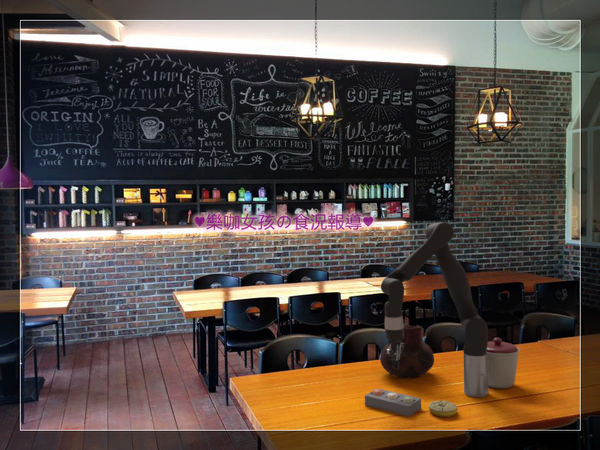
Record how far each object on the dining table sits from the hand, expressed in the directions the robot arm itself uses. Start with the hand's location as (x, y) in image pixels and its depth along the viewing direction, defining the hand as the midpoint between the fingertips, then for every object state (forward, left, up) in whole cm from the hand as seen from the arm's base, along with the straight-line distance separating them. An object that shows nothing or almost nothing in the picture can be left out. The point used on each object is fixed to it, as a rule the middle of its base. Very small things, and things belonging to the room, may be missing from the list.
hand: (395, 368), depth 216 cm
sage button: (-8, +5, -13) cm, 16 cm away
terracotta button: (+6, +5, -13) cm, 15 cm away
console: (-1, +5, -14) cm, 15 cm away
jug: (+13, -33, -14) cm, 38 cm away
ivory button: (-1, +5, -13) cm, 14 cm away
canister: (-26, -44, -14) cm, 53 cm away
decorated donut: (-20, -1, -14) cm, 25 cm away
